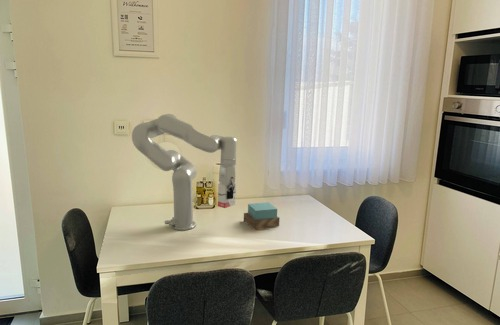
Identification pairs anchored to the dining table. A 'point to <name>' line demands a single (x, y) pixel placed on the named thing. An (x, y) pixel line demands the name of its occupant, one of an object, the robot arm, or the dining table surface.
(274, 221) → the walnut base block
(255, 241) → the dining table surface
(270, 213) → the teal top block
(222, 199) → the ink box
